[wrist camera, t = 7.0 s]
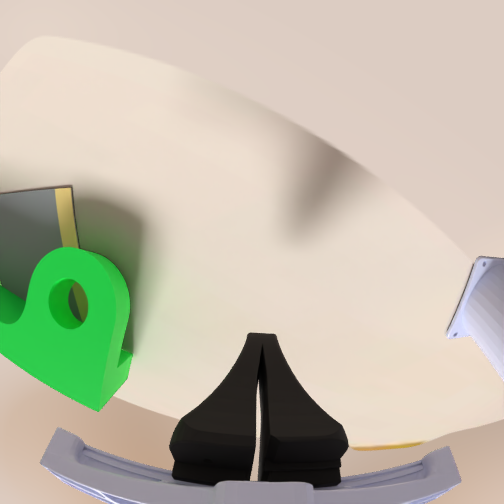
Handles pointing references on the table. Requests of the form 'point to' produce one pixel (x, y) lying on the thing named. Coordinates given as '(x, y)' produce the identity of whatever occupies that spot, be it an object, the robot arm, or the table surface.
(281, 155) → the table surface
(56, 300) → the bracket
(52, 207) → the mat
